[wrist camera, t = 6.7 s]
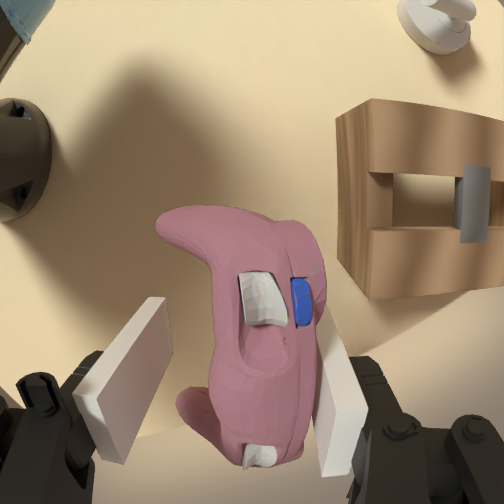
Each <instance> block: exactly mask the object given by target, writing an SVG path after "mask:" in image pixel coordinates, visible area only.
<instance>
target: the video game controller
mask: <svg viewBox="0 0 504 504" xmlns="http://www.w3.org/2000/svg"><path fill="white" fill-rule="evenodd" d="M155 230H156V231H157V233H158V234H159V235H160V237H161V238H162V239H163V240H164V241H166V242H167V243H170V244H172V245H174V246H176V247H179V248H181V249H183V250H185V251H188V252H189V253H191V254H193V255H195V256H196V257H198V258H199V259H201V260H202V261H204V262H205V263H206V264H207V265H208V266H209V267H210V270H211V272H212V302H213V321H214V333H215V349H214V353H213V357H212V361H211V365H210V373H209V381H208V387H209V388H205V387H189V388H187V389H185V390H183V391H182V392H181V393H180V394H179V395H178V396H177V399H176V407H177V410H178V412H179V415H180V416H181V418H182V419H183V420H184V421H185V423H187V424H188V425H189V426H190V427H191V428H192V429H193V430H195V431H196V432H197V433H199V434H200V435H202V436H203V437H204V438H205V439H207V440H208V441H210V442H211V443H212V444H213V445H214V446H215V447H216V448H217V449H218V450H219V451H220V452H221V453H222V454H223V455H224V456H225V457H226V458H227V459H228V460H229V461H230V462H231V463H233V464H234V465H238V466H243V470H246V469H247V468H249V467H264V468H269V467H273V466H277V465H280V464H283V463H287V462H290V461H293V460H296V459H298V458H300V457H301V455H302V453H303V450H304V449H303V448H304V439H305V437H306V434H307V432H308V427H309V423H310V419H311V415H312V410H313V405H314V395H315V385H316V374H317V342H316V326H317V324H318V322H319V321H320V319H321V316H322V314H323V312H324V307H325V303H326V291H327V280H326V274H325V267H324V261H323V258H322V255H321V252H320V249H319V246H318V244H317V242H316V240H315V238H314V236H313V235H312V233H311V232H310V230H309V229H308V228H307V227H306V226H305V225H303V224H302V223H300V222H298V221H294V220H292V221H273V220H271V219H269V218H267V217H265V216H264V215H261V214H257V213H254V212H250V211H247V210H243V209H240V208H235V207H229V206H220V205H189V206H183V207H178V208H175V209H172V210H170V211H167V212H164V213H163V214H161V215H160V216H159V218H158V219H157V220H156V223H155Z"/></svg>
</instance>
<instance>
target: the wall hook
mask: <svg viewBox="0 0 504 504" xmlns="http://www.w3.org/2000/svg"><path fill="white" fill-rule="evenodd" d="M397 14H398V18H399V21H400V23H401V25H402V27H403V28H404V30H405V32H406V33H407V34H408V35H409V37H410V38H411V39H412V40H413V41H414V42H415V43H417V44H418V45H419V46H421V47H422V48H424V49H425V50H427V51H429V52H432V53H435V54H439V55H447V54H450V53H452V52H454V51H456V50H459V49H461V48H463V47H464V46H465V45H466V44H467V43H468V41H469V39H470V34H471V31H470V25H469V21H471V20H473V19H474V18H475V16H476V8H475V5H474V4H473V3H472V1H471V0H399V2H398V5H397Z"/></svg>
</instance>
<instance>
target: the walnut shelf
mask: <svg viewBox="0 0 504 504" xmlns="http://www.w3.org/2000/svg"><path fill="white" fill-rule="evenodd" d="M336 137H337V167H338V243H337V259H338V260H339V261H340V263H341V264H342V265H343V267H344V268H345V269H346V271H347V272H348V273H349V274H350V276H351V277H352V278H353V280H354V281H355V282H356V284H357V285H358V286H359V288H360V289H361V290H362V292H363V293H364V294H365V296H366V297H367V298H368V300H380V299H392V298H403V297H414V296H424V295H434V294H443V293H452V292H460V291H469V290H477V289H484V288H491V287H499V286H504V121H501V120H497V119H493V118H489V117H485V116H481V115H476V114H472V113H467V112H462V111H457V110H452V109H447V108H441V107H435V106H429V105H423V104H416V103H409V102H401V101H392V100H383V99H372V98H371V99H369V100H368V101H366V102H364V103H362V104H360V105H359V106H357V107H355V108H353V109H351V110H350V111H348V112H346V113H344V114H342V115H341V116H339V117H337V118H336ZM393 173H405V174H424V175H439V176H452V177H455V198H454V217H453V226H449V227H392V207H393Z"/></svg>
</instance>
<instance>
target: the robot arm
mask: <svg viewBox="0 0 504 504" xmlns="http://www.w3.org/2000/svg"><path fill="white" fill-rule="evenodd" d="M54 3H55V0H0V83H1V81H2V79H3V78H4V76H5V74H6V73H7V71H8V70H9V68H10V67H11V65H12V63H13V62H14V60H15V59H16V57H17V56H18V54H19V53H20V52H21V50H22V49H23V47H24V46H25V44H27V45H28V44H29V43H30V41H31V36H32V35H33V33H34V32H35V31H36V29H37V28H38V26H39V25H40V24H41V22H42V21H43V19H44V18H45V17H46V15H47V14H48V13H49V11H50V10H51V9H52V7H53V5H54ZM50 164H51V138H50V132H49V128H48V125H47V122H46V120H45V118H44V116H43V114H42V112H41V111H40V110H39V109H38V107H37V106H35V105H34V104H33V103H31V102H29V101H26V100H22V99H16V98H6V99H1V100H0V222H5V221H9V220H12V219H16V218H19V217H21V216H23V215H25V214H26V213H28V212H29V211H30V210H31V209H32V208H33V207H34V206H35V204H36V203H37V201H38V200H39V198H40V196H41V195H42V192H43V190H44V188H45V185H46V182H47V179H48V175H49V170H50ZM316 342H317V374H316V385H315V395H314V405H313V410H312V419H313V426H314V432H315V438H316V444H317V450H318V456H319V464H320V469H321V477H330V476H339V475H347V474H348V473H349V470H350V468H351V465H352V467H353V471H354V475H355V477H354V480H353V482H352V485H351V487H350V490H349V492H348V495H347V497H346V498H349V502H348V504H504V442H503V440H502V438H501V437H500V435H499V434H498V432H497V431H496V429H495V427H494V426H493V425H492V424H491V423H490V421H489V420H487V419H485V418H483V417H482V416H478V415H473V414H472V415H464V416H462V417H459V418H458V419H457V420H456V421H455V422H454V423H453V425H452V427H451V429H439V428H425V427H422V426H421V423H420V422H419V421H418V420H417V419H416V418H415V417H413V416H411V415H409V414H406V413H403V412H402V410H401V408H400V406H399V404H398V401H397V399H396V397H395V396H394V394H393V392H392V390H391V388H390V386H389V384H387V380H386V378H385V376H383V372H382V370H381V368H380V366H379V364H378V363H377V362H375V361H374V360H373V359H371V358H370V357H369V356H359V357H348V355H347V353H346V350H345V348H344V345H343V343H342V341H341V338H340V336H339V333H338V331H337V328H336V326H335V324H334V321H333V319H332V317H331V314H330V312H329V310H328V307H327V305H326V303H325V307H324V312H323V314H322V316H321V319H320V321H319V322H318V324H317V326H316ZM172 355H173V347H172V341H171V334H170V326H169V319H168V311H167V303H166V297H148V298H147V300H146V301H145V302H144V303H143V304H142V306H141V307H140V308H139V309H138V310H137V312H136V313H135V314H134V315H133V317H132V318H131V319H130V320H129V321H128V323H127V324H126V325H125V326H124V328H123V329H122V330H121V331H120V333H119V334H118V335H117V336H116V338H115V339H114V340H113V341H112V343H111V344H110V345H109V346H108V348H107V349H106V350H105V351H97V350H96V351H95V352H93V353H92V354H90V355H88V356H87V357H85V358H84V360H83V361H82V362H81V363H80V364H79V367H77V368H76V369H75V370H74V372H73V374H71V375H70V376H69V378H68V379H67V380H66V381H65V383H64V384H63V385H62V386H61V387H60V389H59V386H58V384H57V381H56V379H55V377H54V376H53V375H51V374H49V373H45V372H37V373H32V374H29V375H26V376H24V377H23V378H21V379H20V380H19V381H18V382H17V383H16V387H17V389H18V391H19V393H20V396H21V398H22V400H23V402H24V404H25V406H26V409H18V408H9V407H8V405H7V403H6V401H5V399H4V397H2V396H0V504H92V492H93V482H94V473H95V464H94V461H93V459H92V458H91V456H92V454H93V452H94V451H95V448H96V449H97V451H98V453H99V455H100V457H101V459H103V460H106V461H110V462H114V463H119V464H124V463H125V461H126V458H127V456H128V454H129V451H130V449H131V447H132V444H133V442H134V440H135V438H136V435H137V433H138V431H139V428H140V426H141V424H142V422H143V419H144V417H145V415H146V412H147V410H148V408H149V406H150V403H151V401H152V399H153V397H154V395H155V392H156V390H157V388H158V386H159V383H160V381H161V379H162V377H163V375H164V372H165V370H166V368H167V366H168V364H169V361H170V359H171V357H172Z"/></svg>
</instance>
